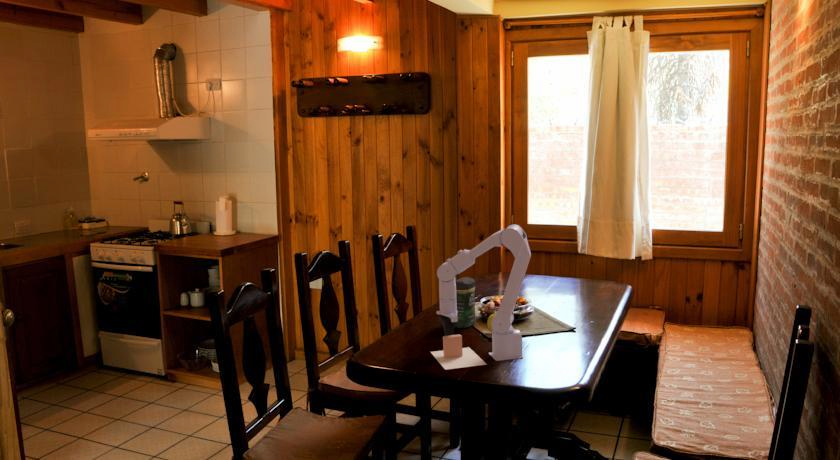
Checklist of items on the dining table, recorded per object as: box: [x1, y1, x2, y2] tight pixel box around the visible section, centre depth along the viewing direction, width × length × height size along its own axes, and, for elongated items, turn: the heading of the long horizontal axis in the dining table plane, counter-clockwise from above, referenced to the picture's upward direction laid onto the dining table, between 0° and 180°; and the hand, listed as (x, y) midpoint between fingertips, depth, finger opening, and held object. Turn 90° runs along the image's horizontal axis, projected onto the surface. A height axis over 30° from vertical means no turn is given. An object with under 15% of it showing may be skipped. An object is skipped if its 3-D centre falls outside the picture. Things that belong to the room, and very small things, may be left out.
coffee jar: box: [455, 276, 477, 329], centre depth 259 cm, size 10×8×19 cm
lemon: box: [486, 312, 496, 333], centre depth 247 cm, size 6×6×8 cm
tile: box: [442, 334, 463, 358], centre depth 224 cm, size 6×2×7 cm, turn 104°
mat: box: [430, 346, 488, 371], centre depth 223 cm, size 14×18×1 cm
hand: (449, 337), depth 227 cm, fingers closed
